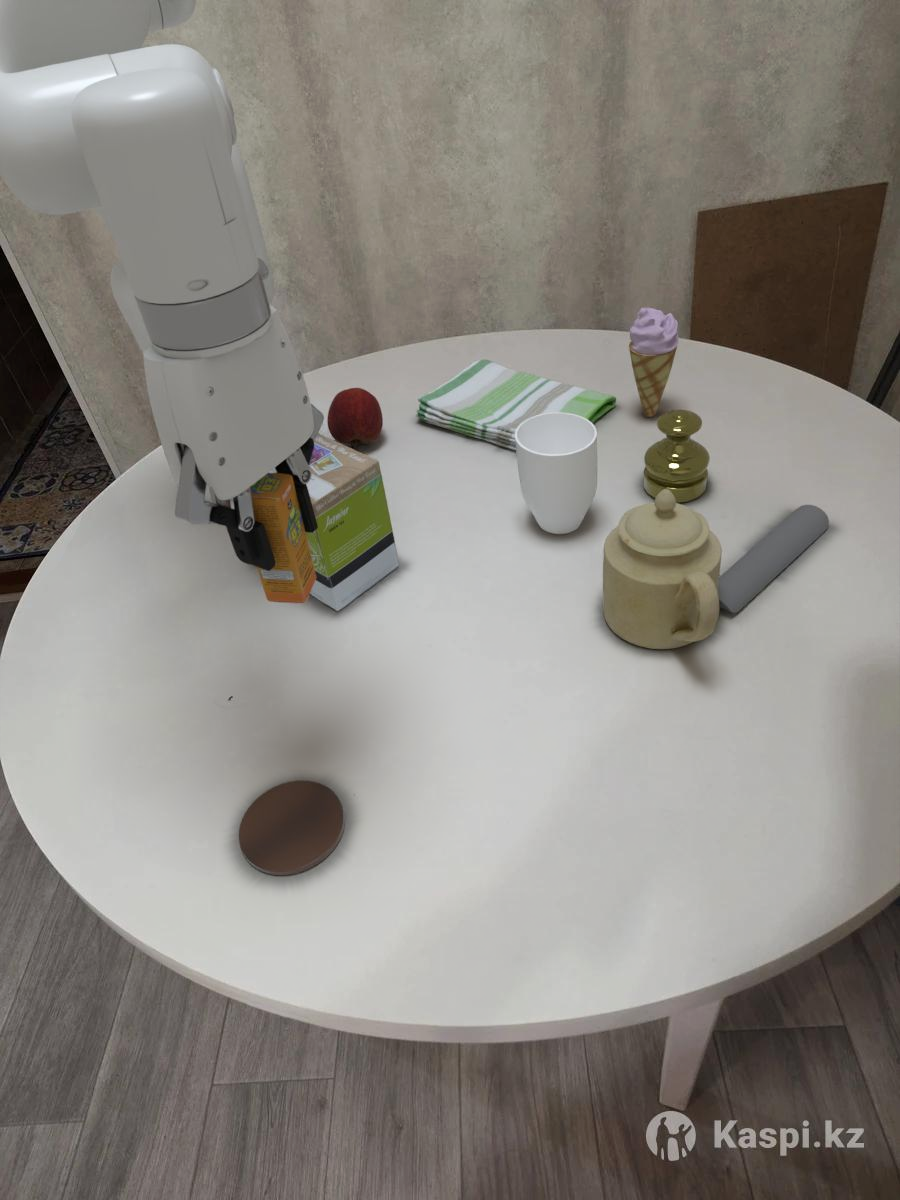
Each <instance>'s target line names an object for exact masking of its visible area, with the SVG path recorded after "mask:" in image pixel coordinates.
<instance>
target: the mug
mask: <svg viewBox="0 0 900 1200" xmlns="http://www.w3.org/2000/svg"><path fill="white" fill-rule="evenodd" d="M597 431H598V430H597V428H596V426H595V424H594V423H591V422H590V421H589V420H587V419H586V418H584V417H581V416H579V415H575V414H571V413H562V412H553V413H545V414H540V415H536V416H533V417H531V418H529V419H527V420H525V421H524V422H522V423H521V424H520V425H519V426H518V427H517V429H516V431H515V442H516V450H515V452H516V461H517V470H518V479H519V485H520V489H521V495H522V497H523V499H524V501H525V503H526V504H527V506H528V508H529V510H530V512H531V513H532V515H533V517H534V519H535V521H536V522H537V524H538V525H539V528H541V529H542V530H543V531H545V532H547V533H550V534H553V535H554V534H555V535H565V534H569V533H572V532H574V531H576V530H577V529H578V528H579V527H580V526H581V524H582V522H583V520H584V518H585V516H586V514H587V513H588V510H589V508H590V507H591V505H592V502H593V501H594V499H595V496H596V493H597V488H598V432H597Z"/></svg>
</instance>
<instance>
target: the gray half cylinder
mask: <svg viewBox="0 0 900 1200" xmlns="http://www.w3.org/2000/svg"><path fill="white" fill-rule="evenodd" d="M829 525H830V520H829V517H828V515H827V513H826V512H825V511H824V510H823V509H821V508H820V507H819V506H817V505H813V504H803V505H801V506H799V507H797V508H796V509H795V510H794V511H793V512H791V513H790V514H789V515H788V516H787V517H786V518H784V519H783V520H782V521H781V522H780V523H779V524H778V525H777V526H775V528H773V529H772V530H771V531H770V532H769V533H767V534H766V535H765V536H764V537H763V538H762V539H761V540H759V541H758V542H757V543H756V544H755V545H754V546H753V547H752V548H751V549H750V550H748V551H747V552H746V553H745V554H744V555H742V557H741V558H739V559H738V560H737V561H736V562H734V563H733V564H732V565H731V566H730V567H728V568H727V570H726V571H724V572H723V573H722V574H720V575H719V583H718V590H717V592H718V598H719V608H720V609H724V610H726V611H727V612H729V613H733V614H736V613H738V612H740V611H741V610H742V609H743V608H744V607H745V606H746V605H747V604H748V603H750V601H752V599H754V598H755V597H756V596H757V595H758V594H759V593H760V592H761V591H763V589H764V588H766V586H768V585H769V584H770V583H771V582H772V581H773V580H774V579H775V578H776V577H777V576H778V575H779V574H780V573H782V572H783V571H784V570H785V569H786V568H787V567H788V566H789V565H790V564H791V563H792V562H793V561H795V559H797V558H798V557H799V556H800V555H801V554H802V553H803V552H804V551H805V550H806V549H807V548H808V547H809V546H811V544H813V543H814V542H815V541H816V540H817V539H818V538H820V536H821V535H823V534H824V533H825V532H826V530H827V529H828V527H829Z"/></svg>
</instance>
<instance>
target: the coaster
mask: <svg viewBox="0 0 900 1200" xmlns="http://www.w3.org/2000/svg"><path fill="white" fill-rule="evenodd" d="M345 821H346V817H345V810H344V807H343V805H342V802H341V800H340V798H339V797H338V795H337V794H336V793H335V792H334V791H333V790H332V789H331V788H330V787H328V786H327V785H324V784H322V783H320V782H317V781H313V780H303V779H301V780H292V781H291V780H290V781H287V782H283V783H280V784H278V785H275V786H273V787H272V788H270V789H267V790H266V791H265V792H263V793H262V794H260V795H259V796H258V797H256V799H254V801H253V802H251V804H250V805H249V807H248V808H247V809H246V811H245V812H244V815H243V817H242V819H241V821H240V824H239V829H238V843H239V847H240V850H241V852H242V854H243V856H244V859H246V861H247V862H248V863H249V864H250V865H251V866H252V867H254V868H255V869H256V870H258V871H260V872H262V873H266V874H268V875H274V876H291V875H295V874H296V875H297V874H300V873H303V872H306V871H309V870H310V869H312V868H313V867H316V866H317V865H318V864H320V863H321V862H323V861H324V860H325V859H326V858H328V856H330V854H331V853H332V852H333V851H334V850H335V848H336V847H337V845H338V844H339V842H340V840H341V838H342V837H343V833H344V829H345V824H346V823H345Z"/></svg>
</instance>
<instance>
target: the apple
mask: <svg viewBox="0 0 900 1200" xmlns="http://www.w3.org/2000/svg"><path fill="white" fill-rule="evenodd" d="M326 421H327V428H328V432H329V433H330V435H331V437H332V439H333V440H334V441H336V442H338V443H341V444H344V445H346V444H347V445H351V446H350V448H351V449H355V447H357V445H367V444H371V443H373V442H375V441H376V440H377V439H378V438H379V436H380V435H381V433H382V429H383V426H384V425H383V423H384V419H383V413H382V408H381V404H380V402H379V401H378V399H377V397H376V396H375V395H373V394H372V393H371V392H369V391H368V390H366V389H364V388H361V387H350V388H347V389H343V390H341V391H339V392H338V393H337V394H336V395H335V396H334V397H333V399H332V401H331V403H330V405H329V408H328V412H327V420H326Z"/></svg>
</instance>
